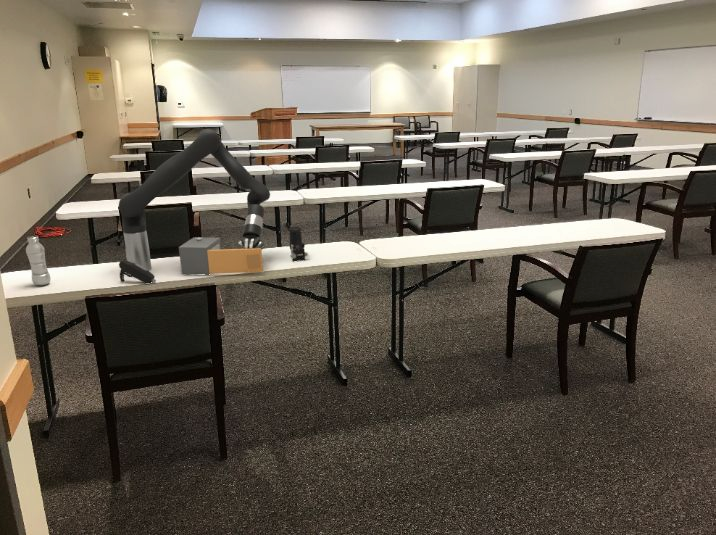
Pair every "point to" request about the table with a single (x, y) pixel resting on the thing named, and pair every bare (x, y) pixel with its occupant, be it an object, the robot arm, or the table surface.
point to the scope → (296, 244)
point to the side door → (235, 261)
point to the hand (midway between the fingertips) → (247, 263)
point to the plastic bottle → (37, 261)
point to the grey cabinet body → (197, 254)
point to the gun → (135, 272)
